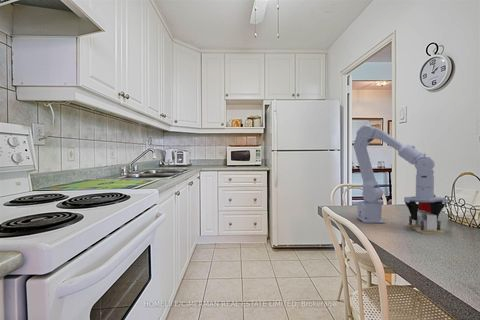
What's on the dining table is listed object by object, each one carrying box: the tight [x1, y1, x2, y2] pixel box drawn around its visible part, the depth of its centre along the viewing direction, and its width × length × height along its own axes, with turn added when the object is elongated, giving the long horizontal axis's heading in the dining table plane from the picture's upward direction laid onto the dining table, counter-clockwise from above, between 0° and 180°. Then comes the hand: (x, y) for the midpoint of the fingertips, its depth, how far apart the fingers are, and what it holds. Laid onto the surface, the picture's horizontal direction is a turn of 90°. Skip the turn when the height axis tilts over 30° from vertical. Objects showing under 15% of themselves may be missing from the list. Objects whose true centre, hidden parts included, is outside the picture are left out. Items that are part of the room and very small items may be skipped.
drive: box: [412, 210, 438, 231], centre depth 94 cm, size 8×4×6 cm, turn 175°
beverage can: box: [417, 193, 437, 213], centre depth 108 cm, size 7×7×12 cm
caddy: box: [405, 215, 445, 235], centre depth 94 cm, size 10×8×4 cm
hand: (424, 220), depth 94 cm, fingers open, 7 cm apart
